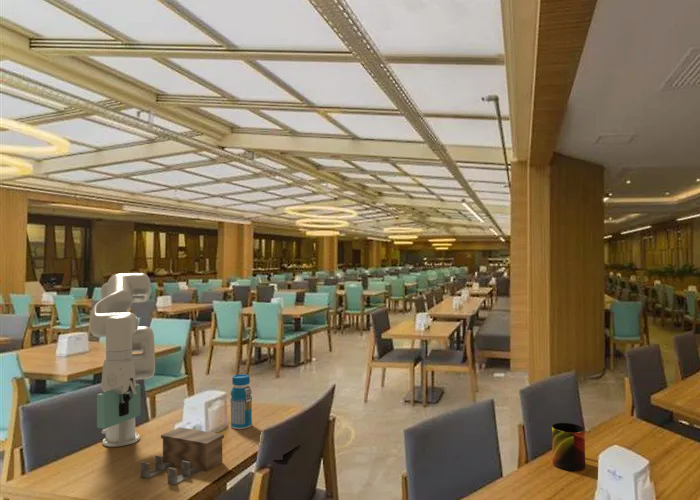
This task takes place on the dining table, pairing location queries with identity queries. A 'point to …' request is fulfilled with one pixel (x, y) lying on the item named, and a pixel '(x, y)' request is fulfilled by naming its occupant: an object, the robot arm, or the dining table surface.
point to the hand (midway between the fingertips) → (119, 413)
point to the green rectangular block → (115, 408)
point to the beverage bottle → (241, 402)
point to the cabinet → (186, 454)
